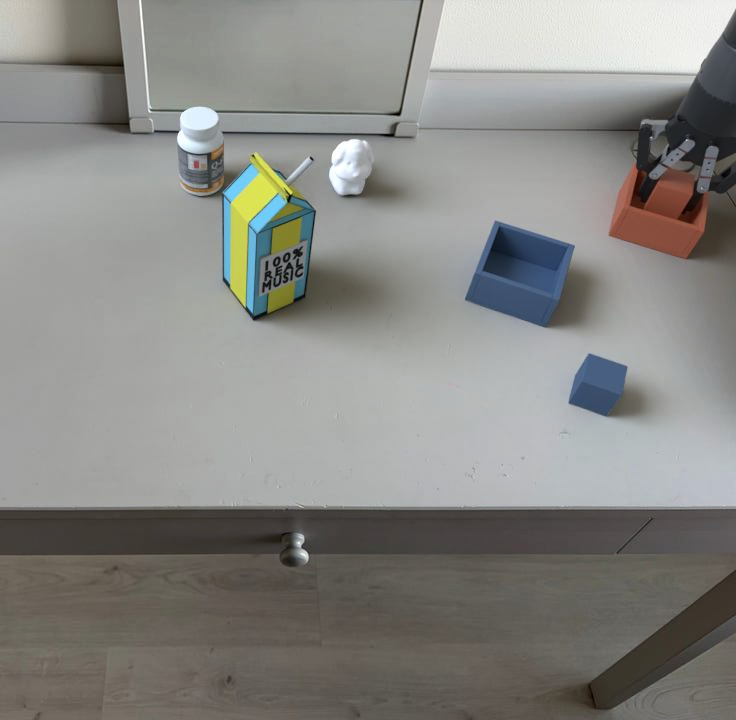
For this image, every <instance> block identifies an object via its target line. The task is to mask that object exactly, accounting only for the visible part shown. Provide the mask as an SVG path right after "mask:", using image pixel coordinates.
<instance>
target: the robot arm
mask: <svg viewBox="0 0 736 720" xmlns="http://www.w3.org/2000/svg"><path fill="white" fill-rule="evenodd" d="M663 132H664V133H665V137H666V140H667V144H666V145H665V147H664V148H663V149H662V151H661V152H660V153H659V154H658V155H656V158H654V157H653V156H651V148H652V142H653V141H655V140H657V139H658V137H659V135H660V134H661V133H663ZM636 151H637V152H636V162H635V163H636V169H637V170H639V171H644V172H646V176H645V177H644V179H643V181H642V183H641V185H640V187H639V192H638V197H641V200H640V202H643V203H646V202H647V200H648V199H649V197H650V195H651V193H652V192H653V190H654V188H655V186H656V185H657V183H658V180H659V177H660V176H661V175H662V174H663V173H665V172H666V171H667V170H668V169H670V168H672V169H673V167H674V166H676V164H677V163H678V162H679V161H680V162H686V163H687V162H688V163H689V162H690V163H691V164H693V165H695V166H697V167H700V169H699V174H698V177H697V178H696V180H697V181H695V183H694V189H693V195H692V197H691V198H690V200H689V201H688V203H687V205H686V206H685V208H684V209H683V211H682V213H681V214H683V215H684V214H685V213H686V211H689V212H691V211H692V210H694V209H695V207H696V205H697V204H698V202H699V201H700V199H701V198H702V196H703V194H704V193H706V192H708V191H710V192H715V193H716V194H718V195H722V194H725V193H726V192H728V191H729V190H730V189H731V188H733V187H734V186H735V185H736V160H735V161H734V162H732V163H731V164H730V165H729V166H727V167H726V168H725V169H724V170H722V171H721V172H720V173H718V174H716V175H713V173H714V170H715V166H716V163H718V162H720V161H722V160H724V159H726V158H728V157H730V156H733V155H735V154H736V8H734V11H733V13H732V14H731V16H730V18H729V20H728V22H727V24H726V25H725V28H724V30H723V31H722V33H721V34H720V35H719V37H718V39H717V40H716V41H715V43H714V44H713V45H712V47H711V48H710V50H709V52H708V53H707V55H706V56H705V58H704V59H703V61H702V62H701V64H700V67H699V70H698V72H697V74H696V75H695V77H694V80H693V81H692V83H691V85H690V87H689V89H688V90H687V91H686V94H685V96H684V98H683V100H682V101H681V104H680V105H679V107H678V108H677V110H676V111H675V112H674V113H673V114H671V115H670V116H668V118H667V119H654V118H653V117H652V116H651V115H649V114H647V115H645V116H643V117H642V118H641V121H640V124H639V129H638V137H637V150H636Z"/></svg>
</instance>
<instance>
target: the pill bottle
mask: <svg viewBox="0 0 736 720" xmlns="http://www.w3.org/2000/svg"><path fill="white" fill-rule="evenodd" d="M179 128H180V130H179V131H178V134H177V137H176V145H177V159H178V160H177V161H178V174H179V175H178V176H179V183H180V186H181V187H182V189H183V190H184V191H185V192H187V193H188V194H190V195H193V196H200V197H203V196H204V197H206V196H211V195H213V194H215V193H217V192H218V191H220V190H221V188H223V185H224V182H225V179H224V178H225V138H224V134H223V131H222V130H221V128H220V116H219V114H218V113H217V112H216V111H215V110H214V109H212V108H210V107H206V106H193V107H190V108H187V109H185V110H184V111H182V113H181V115H180V118H179Z"/></svg>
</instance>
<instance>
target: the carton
mask: <svg viewBox="0 0 736 720" xmlns="http://www.w3.org/2000/svg"><path fill="white" fill-rule="evenodd" d="M248 158H249V160H250V161H249V163H248V165H247V166H246V167H245V168H244V169H243V170H242V171H241V172H240V173H239V174H238V175H237V177H235V178H234V180H232V182H231V183H230V184H228V186H227V187H225V189H224V190H223V191H222V192H221V198H222V199H221V202H222V203H221V205H222V208H221V209H222V210H221V212H222V213H221V215H222V219H221V220H222V221H221V222H222V233H221V234H222V282H223V283H224V285H226V287H227V288H228V289H229V291H230V292H231V294H232V295H233V296H234V297H235V298H236V300H237V301H238V302H239V304H240V305H241V306H242V308H243V309H244V311H245V312H246V313H247V315H248V316H249V317H250V319H252V321H256V320H258V319H260V318H262V317H265V316H266V315H269V314H271V313H273V312H276V311H278V310H280V309H282V308H285V307H287V306H289V305H291V304H294V303H296V302H298V301H301V300H304V299H305V298H306V296H307V288H308V280H309V271H310V263H311V254H312V247H313V240H314V231H315V223H316V215H317V214H316V213H317V209H315V208H314V207H313V206H312V204H310V202H309V201H308V200H307V199H306V198H305V197H304V196H303V195H302V194H301V193H300V191H298V189H297V188H296V187H295V186H294V185H293V184H294V183H295V182H296V181H297V180H298V178H299V177H301V176H302V175H303V174H304V172H306V170H307V169H308V168H309V167H310V166H311V165H312V164H313V163H315V159H314V157H313V156H311V155H309V156H307V158H306V159H305V160H304V161H303V162H302V163H301V164H300V165H299V166H298V167H297V168H296V169H295V170H294V171H293V172H292V173H291V174H290V175H289V176H288V178H286V176H285V175H284V174H283V173H282V172H281V171H280V170H278V169H275V168H272V167H271V166H270V165H269V164H268V163H267V162H266V161H265V159H263V158H262V157H261V156H260V154H259V153H257V151H256V152H254V153H253V154H248Z"/></svg>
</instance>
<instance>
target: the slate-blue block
mask: <svg viewBox="0 0 736 720" xmlns="http://www.w3.org/2000/svg"><path fill="white" fill-rule="evenodd" d="M627 372H628V365H625V364H623V363H619V362H616V361H614V360H611V359H608V358H604V357H602V356H599V355H596V354H593V353H587V355H586V357H585V358H584V360H583V362H582V363H581V364H580V367H579V368H578V370H577V371H576V373H575V374H574V379H573V383H572V386H571V390H570V394H569V398H568V404H570V405H573V406H576V407H579V408H581V409H584V410H587V411H590V412H593V413H596V414H599V415H601V416H604V417H607V416H608V415H609V414H610V413H611V411H612V410H613V409H614V407H615V405H616V404H617V403H618V402H619V400H620V399H621V397H623V392H624V388H625V383H626V376H627Z"/></svg>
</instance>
